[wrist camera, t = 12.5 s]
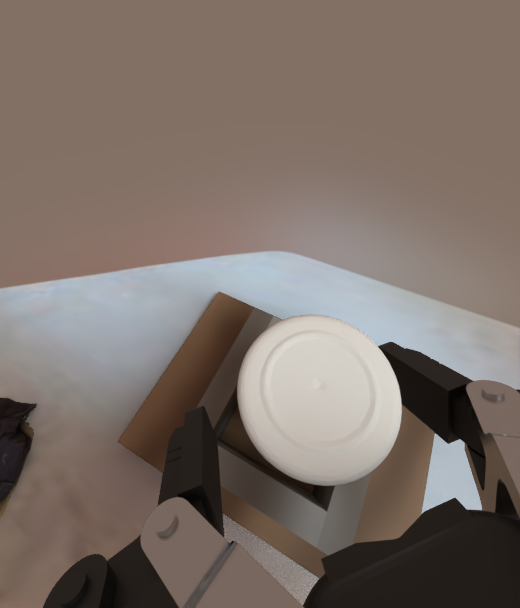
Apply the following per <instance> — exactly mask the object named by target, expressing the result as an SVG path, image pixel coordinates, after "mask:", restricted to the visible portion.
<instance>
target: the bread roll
mask: <svg viewBox="0 0 520 608" xmlns="http://www.w3.org/2000/svg"><path fill="white" fill-rule="evenodd" d="M34 408H36V404H28V403H20V402H15V401H13V400H10V399H7V398H6V399H4V398H0V518H1V516H2V514H3V512H4V510H5V507H6V505H7V503H8V501H9V499H10V496H11V494H12V492H13V489H14V487H15V485H16V483H17V481H18V479H19V475H20V473H21V470H22V467H23V464H24V461H25V459H26V456H27V454H28V452H29V450H30V446H31V443H32V440H33V436H34V432H33V429H32V428H31V427H29V425H30V424H29V423H28V422H25V421H26V420H27V417H28V415H29V413H30V412H31V411H32V410H33V409H34ZM24 415H26V418H24V419H23V420H22V421H21V418H22V417H24ZM20 422H21V423H20Z"/></svg>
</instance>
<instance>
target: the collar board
mask: <svg viewBox="0 0 520 608" xmlns="http://www.w3.org/2000/svg"><path fill="white" fill-rule="evenodd" d="M280 321H282V319H279V318H277V317H275V316H273V315H270V314H268V313H266V312H264V311H262V310H259V309H257V308H255V307H253V306H250V305H248V304H246V303H244V302H241V301H239V300H237V299H235V298H232V297H230V296H228V295H226V294H224V293H221V292H218V294H217V295H216V297H215V298H214V300H213V301H212V303H211V304H210V306H209V307H208V309H207V310H206V312H205V313H204V315H203V316H202V317H201V319H200V320H199V322H198V323H197V325H196V326H195V328H194V329H193V331H192V332H191V334H190V335H189V337H188V338H187V340H186V341H185V343H184V344H183V346H182V347H181V349H180V350H179V352H178V353H177V354H176V356H175V357H174V359H173V360H172V362H171V363H170V365H169V366H168V368H167V369H166V371H165V372H164V374H163V375H162V377H161V378H160V380H159V381H158V383H157V384H156V386H155V387H154V388H153V390H152V391H151V393H150V394H149V396H148V397H147V399H146V400H145V402H144V403H143V405H142V406H141V408H140V409H139V411H138V412H137V414H136V415H135V417H134V418H133V420H132V421H131V423H130V424H129V425H128V427H127V428H126V430H125V431H124V433H123V434H122V436H121V437H120V439H119V440H118V443H120V444H121V445H123V446H124V447H126V448H127V449H129V450H130V451H132V452H133V453H135V454H136V455H138V456H139V457H141V458H142V459H144V460H145V461H147V462H148V463H150V464H151V465H153V466H154V467H155V468H157V469H158V470H160V471H161V472H163V471H164V465H165V459H166V455H167V447H168V442H169V439H170V437H171V436H172V434H173V432H174V430H175V429H176V428H179V427H182V426H184V421H185V413H186V411H189V410H192V409H195V408H198V407H200V406H204V407H205V409H206V411H207V414H208V417H209V419H210V422H211V425H212V428H213V430H214V433H215V436H216V440H217V445H218V455H219V470H220V484H221V499H222V513H224V514H225V515H227V516H228V517H229V518H231V519H232V520H234V521H235V522H237V523H238V524H240V525H241V526H243V527H244V528H246V529H247V530H249V531H250V532H252V533H253V534H255V535H256V536H258V537H259V538H261V539H262V540H264V541H265V542H266V543H268V544H269V545H271V546H272V547H274V548H275V549H277V550H278V551H280V552H281V553H283V554H284V555H286V556H287V557H289V558H290V559H292V560H293V561H295V562H296V563H298V564H299V565H301V566H302V567H303V568H305V569H306V570H308V571H309V572H311V573H312V574H314V575H315V576H317V577H318V578H321V577H322V576H323V575H324V574H325V573H324V569H323V565H322V561H321V559H322V558H324V557H326V556H328V555H331V554H333V553H335V552H337V551H339V550H342V549H344V548H346V547H348V546H350V545H353V544H355V543H360V542H371V541H381V540H391V539H397V538H399V537H400V536H402V534H403V533H404V532H405V531H406V530H407V529H408V528H409V527H410V526H411V525H412V524H413V523H414V522H415V521H416V520H417V519H418V518H419V517H420V516H421V512H422V506H423V500H424V494H425V488H426V482H427V476H428V470H429V464H430V458H431V452H432V446H433V440H434V434H435V432H434V431H433V430H431V429H430V428H429V427H428V426H427V425H426V424H424V423H423V422H422V421H421V420H420V419H418V418H417V417H416V416H415V415H414V414H413V413H411V412H410V411H409V410H408V409H407V408H406V407H404V406H403V405H402V404H401V405H402V415H401V423H400V429H399V432H398V435H397V438H396V441H395V443H394V445H393V447H392V449H391V451H390V452H389V454H388V456H387V457H386V458H385V459H384V460H383V462H382V463H381V464H380V465H379V466H377V467H376V468H375V469H374V470H373V471H371V472H370V473H369V474H367V475H366V476H364V477H362V478H360V479H358V480H356V481H353V482H350V483H346V484H342V485H335V486H321V485H314V484H309V483H305V482H301V481H299V480H296V479H294V478H292V477H290V476H288V475H286V474H284V473H283V472H281V471H280V470H278V469H277V468H275V467H274V466H273V465H272V464H270V463H269V462H268V461H267V460H266V459H265V458H264V457H263V456H262V455H261V454H260V453H259V451H258V450H257V449H256V447H255V446H254V445H253V443H252V441H251V440H250V438H249V436H248V434H247V432H246V430H245V427H244V425H243V422H242V419H241V416H240V412H239V407H238V399H237V384H238V376H239V372H240V368H241V365H242V362H243V359H244V357H245V355H246V353H247V351H248V350H249V348H250V347H251V345H252V344H253V342H254V341H255V340H256V339H257V338H258V337H259V336H260V335H261V334H262V333H263V332H264V331H265V330H267V329H268V328H269V327H271V326H273V325H274V324H276V323H277V322H280Z"/></svg>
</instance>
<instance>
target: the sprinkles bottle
mask: <svg viewBox="0 0 520 608" xmlns="http://www.w3.org/2000/svg"><path fill="white" fill-rule="evenodd" d="M237 399H238V407H239V412H240V416H241V419H242V422H243V425H244V427H245V430H246V432H247V434H248V436H249V438H250V440H251V441H252V443H253V445H254V446H255V447H256V449H257V450H258V451H259V453H260V454H261V455H262V456H263V457H264V458H265V459H266V460H267V461H268V462H269V463H270V464H272V465H273V466H274V467H275V468H277V469H278V470H280V471H281V472H283V473H284V474H286V475H288V476H290V477H292V478H294V479H296V480H299V481H301V482H305V483H309V484H314V485H321V486H335V485H342V484H346V483H350V482H353V481H356V480H358V479H360V478H362V477H364V476H366V475H367V474H369V473H370V472H371V471H373V470H374V469H375V468H376V467H377V466H379V465H380V464H381V463H382V462H383V460H384V459H385V458H386V457H387V456H388V454H389V452H390V451H391V449H392V447H393V445H394V443H395V441H396V438H397V435H398V432H399V429H400V423H401V415H402V405H401V395H400V389H399V385H398V382H397V378H396V376H395V374H394V371H393V369H392V367H391V365H390V363H389V361H388V360H387V358H386V356H385V355H384V354H383V352H382V351H381V350H380V349H379V347H378V346H377V345H376V344H375V343H374V342H373V341H372V340H371V339H370V338H369V337H368V336H367V335H365V334H364V333H363V332H361V331H360V330H359V329H357V328H355V327H354V326H352V325H350V324H348V323H346V322H344V321H341V320H339V319H335V318H332V317H328V316H322V315H300V316H295V317H291V318H287V319H284V320H282V321H280V322H277V323H276V324H274V325H273V326H271V327H269V328H268V329H267V330H265V331H264V332H263V333H262V334H261V335H260V336H259V337H258V338H257V339H256V340H255V341H254V342H253V344H252V345H251V347H250V348H249V350H248V351H247V353H246V355H245V357H244V359H243V362H242V365H241V368H240V372H239V376H238V384H237Z"/></svg>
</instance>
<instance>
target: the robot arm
mask: <svg viewBox="0 0 520 608" xmlns="http://www.w3.org/2000/svg"><path fill="white" fill-rule="evenodd" d="M378 347H379V349H380V350H381V351H382V352H383V354H384V355H385V356H386V358H387V360H388V361H389V363H390V365H391V367H392V369H393V371H394V374H395V376H396V378H397V382H398V385H399V389H400V395H401V404H402V405H403V406H404V407H406V408H407V409H408V410H409V411H410V412H411V413H413V414H414V415H415V416H416V417H417V418H418V419H420V420H421V421H422V422H423V423H424V424H426V425H427V426H428V427H429V428H430V429H431V430H433V431H434V432H435V433H436V434H437V435H438V436H440V437H441V438H442V439H443V440H444V441H445V442H447V443H448V444H449V443H451V442H454V441H456V440H458V439H461V440H462V441H463V442H465V452H466V455H467V458H468V461H469V464H470V468H471V471H472V474H473V477H474V480H475V483H476V487H477V490H478V493H479V496H480V500H481V504H482V510H466V509H465V507H464V506H463V505H462V504H461V503H460V502H459V501H458V500H457V499H456V498H453V499H451V500H449V501H447V502H444V503H442V504H440V505H438V506H436V507H434V508H431V509H429V510H427V511H425V512H423V514H422V515H421V516H420V517H419V518H418V519H417V520H416V521H415V522H414V523H413V524H412V525H411V526H410V527H409V528H408V529H407V530H406V531H405V532H404V533H403V534H402V536H400V537H399V538H397V539H391V540H381V541H371V542H360V543H355V544H353V545H350V546H348V547H346V548H344V549H342V550H339V551H337V552H335V553H333V554H331V555H328V556H326V557H324V558H322V559H321V561H322V565H323V569H324V573H325V574H324V575H323V576H322V577H321V578H320V579H319V580H318V581H317V583H316V584H315V585H314V587H313V588H312V590H311V591H310V593H309V595H308V597H307V599H306V600H305V603H304V605H303V606H302V605H301V604H300V603H299V602H298V601H297V600H296V599H295V598H294V597H293V596H292V595H291V594H290V593H289V592H288V591H287V590H286V589H285V588H284V587H283V586H282V585H281V584H280V583H279V582H278V581H277V580H276V579H275V578H274V577H273V576H271V575H270V574H269V573H268V572H267V571H266V570H265V569H264V568H263V567H262V566H261V565H260V564H259V563H258V562H257V561H256V560H255V559H254V558H253V557H252V556H251V555H250V554H249V553H248V552H247V551H246V550H245V549H244V548H243V547H242V546H241V545H239V544H238V543H237V542H235V541H232V542H231V543H229V542H228V541H227V540H225V539H224V538H223V537H224V528H223V513H222V499H221V484H220V470H219V455H218V445H217V440H216V436H215V433H214V430H213V428H212V425H211V422H210V419H209V417H208V414H207V411H206V409H205V407H204V406H200V407H198V408H195V409H192V410H189V411H186V413H185V421H184V426H182V427H179V428H176V429H175V430H174V432H173V434H172V436H171V437H170V439H169V442H168V447H167V455H166V459H165V465H164V471H163V477H162V483H161V489H160V495H159V501H158V506H157V508H156V509H155V510H154V511H153V512H152V513H151V514H150V516H149V517H148V519H147V520H146V522H145V524H144V526H143V529H142V532H141V535H140V536H139V537H138V538H137V539H136V540H134V541H133V542H132V543H131V544H129V545H128V546H127V547H125V548H124V549H123V550H121V551H120V552H118V553H117V554H116V555H114V556H113V557H112V558H110V559H109V560H108V561H107V560H106V559H105V558H104V557H103V556H102V555H100V554H93V555H89V556H87V557H85V558H83V559H81V560H80V561H78V562H77V563H75V564H74V565H73V566H72V567H71V568H70V569H69V570H68V571H67V572H66V573H65V574H64V575H63V576H62V577H61V578H60V579H59V581H58V582H57V583H56V585H55V586H54V588H53V589H52V591H51V592H50V594H49V596H48V598H47V599H46V602H45V604H44V606H43V608H520V390H515V389H513V388H512V387H510V386H508V385H505V384H502V383H499V382H495V381H489V380H478V381H472V380H470V379H468V378H467V377H465V376H463V375H461V374H459V373H457V372H456V371H454V370H452V369H450V368H448V367H446V366H444V365H443V364H439V362H437V361H435V360H433V359H430V357H428V356H426V355H424V354H422V353H421V352H418V351H414V350H411V349H407V348H406V349H404V348H402V347H401V346H399V345H397V344H395V343H393V342H389V343H386V344H383V345H380V346H378Z"/></svg>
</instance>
